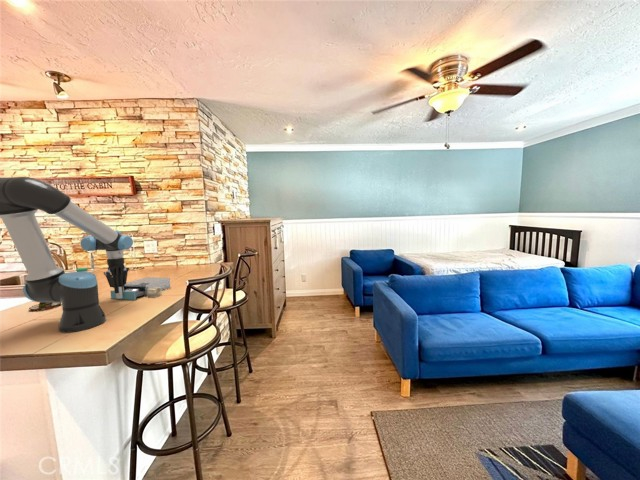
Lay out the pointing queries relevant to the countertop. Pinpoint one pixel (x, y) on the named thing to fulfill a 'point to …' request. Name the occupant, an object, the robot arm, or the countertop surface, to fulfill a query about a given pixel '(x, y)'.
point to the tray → (128, 294)
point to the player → (149, 284)
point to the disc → (134, 289)
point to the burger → (45, 306)
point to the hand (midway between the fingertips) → (119, 298)
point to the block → (154, 292)
